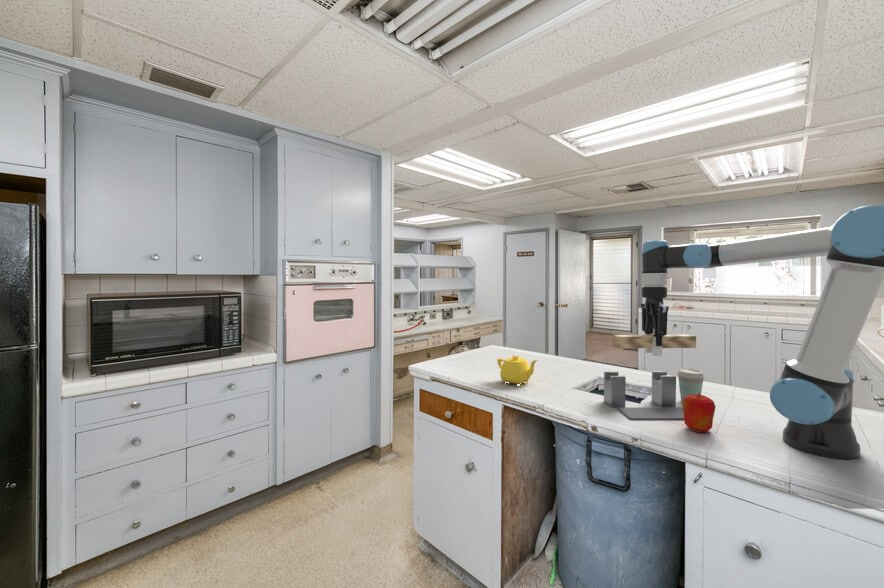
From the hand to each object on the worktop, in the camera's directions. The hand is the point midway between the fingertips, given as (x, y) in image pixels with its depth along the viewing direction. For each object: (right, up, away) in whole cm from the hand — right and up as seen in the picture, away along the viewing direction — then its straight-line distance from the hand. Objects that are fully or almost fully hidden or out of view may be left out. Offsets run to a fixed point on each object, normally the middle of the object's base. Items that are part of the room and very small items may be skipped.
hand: (653, 353), depth 128 cm
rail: (0, +2, 0) cm, 2 cm away
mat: (+2, -21, +1) cm, 21 cm away
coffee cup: (+21, -21, +12) cm, 32 cm away
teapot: (-39, -20, +41) cm, 60 cm away
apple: (+7, -22, -12) cm, 26 cm away
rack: (+1, -21, +11) cm, 23 cm away
